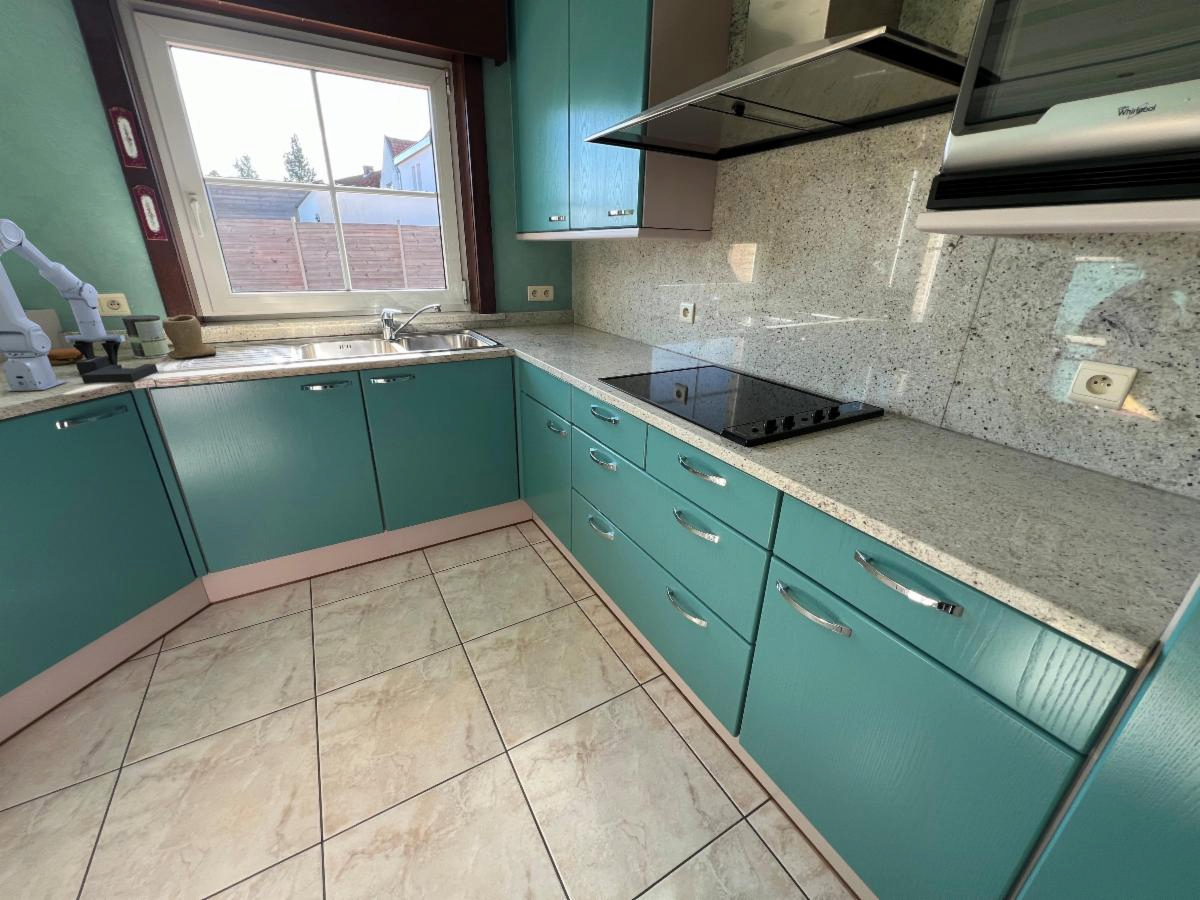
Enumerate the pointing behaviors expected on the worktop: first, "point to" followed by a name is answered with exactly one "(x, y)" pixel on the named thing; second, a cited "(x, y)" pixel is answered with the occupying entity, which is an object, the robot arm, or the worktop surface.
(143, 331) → the coffee can
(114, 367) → the notch pad
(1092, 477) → the worktop surface
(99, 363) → the pad
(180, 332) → the tan suede boot
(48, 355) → the burger
